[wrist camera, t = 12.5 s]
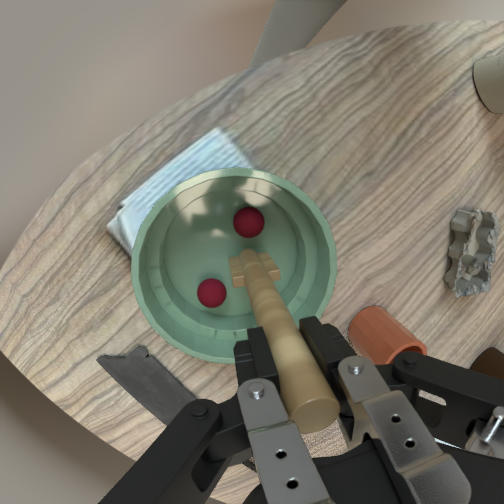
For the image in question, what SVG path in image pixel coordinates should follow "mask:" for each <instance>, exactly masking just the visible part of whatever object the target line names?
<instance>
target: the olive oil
mask: <svg viewBox="0 0 504 504" xmlns="http://www.w3.org/2000/svg"><path fill="white" fill-rule="evenodd" d="M470 370H472V371H475V372H479V373H482V374H485V375H488V376H492V377H495V378H498V379H501V380H504V354H503V353H502V352H501V351H499V350H498V349H496V348H494V347H491V348H489V349H487V350H486V351H484V352H483V353H482V354H481V355H480V356H479V357H478V358H477V359H476V361H475V362H474V363H473V365H472V366H471V368H470Z"/></svg>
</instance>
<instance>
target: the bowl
mask: <svg viewBox="0 0 504 504" xmlns="http://www.w3.org/2000/svg"><path fill="white" fill-rule="evenodd" d="M244 207H254V208H256V209H258V210H259V211H260V212H261V213H262V214H263V216H264V220H265V225H264V228H263V230H262V232H261V233H260V234H259V235H258V236H256V237H254V238H244V237H242V236H240V235H239V234H238V233H237V232H236V231H235V229H234V226H233V218H234V216H235V214H236V213H237V211H238V210H240V209H241V208H244ZM244 249H253V250H255V251H256V252H257V253H260V252H266V251H267V252H268V254H269V255H270V256H271V258H272V259H273V261H274V262H275V264H276V265H277V267H278V268H279V270H280V276H281V280H278V281H273V283H274V284H275V286H276V288H277V290H278V292H279V294H280V295H281V297H282V299H283V301H284V303H285V305H286V306H287V308H288V310H289V312H290V314H291V316H292V317H293V319H294V321H295V323H296V325H297V327H298V328H299V319H301V318H306V317H311V316H316V317H317V318H318V320H319V319H320V318H321V316H322V314H323V312H324V310H325V308H326V306H327V305H328V303H329V301H330V299H331V296H332V293H333V288H334V284H335V280H336V275H337V254H336V245H335V242H334V239H333V235H332V232H331V229H330V226H329V224H328V221H327V220H326V218H325V217H324V215H323V214H322V212H321V211H320V209H319V208H318V206H317V205H316V203H315V202H314V201H313V200H312V199H311V198H310V197H309V196H307V195H306V194H305V193H304V192H303V191H302V190H300V189H299V188H298V187H297V186H296V185H294V184H293V183H291V182H289V181H287V180H285V179H283V178H280V177H278V176H276V175H274V174H271V173H269V172H267V171H262V170H255V169H248V168H240V167H232V168H225V169H218V170H211V171H206V172H203V173H201V174H199V175H196V176H194V177H192V178H190V179H188V180H185V181H183V182H181V183H179V184H177V185H176V186H175V187H174V188H173V189H171V190H170V191H169V192H168V193H167V194H165V195H164V196H163V197H162V198H161V199H160V200H158V201H157V202H156V203H155V205H154V206H153V208H152V209H151V211H150V212H149V214H148V215H147V217H146V218H145V220H144V221H143V223H142V224H141V226H140V228H139V231H138V234H137V237H136V241H135V244H134V247H133V250H132V263H131V279H132V280H131V281H132V285H133V288H134V292H135V296H136V299H137V303H138V305H139V307H140V309H141V310H142V312H143V314H144V315H145V317H146V319H147V320H148V322H149V324H150V325H151V327H152V328H153V329H154V330H155V331H156V332H157V333H158V334H159V335H160V336H161V337H162V338H163V339H165V340H166V341H167V342H168V343H169V344H170V345H172V346H174V347H176V348H177V349H179V350H181V351H182V352H184V353H186V354H188V355H190V356H192V357H196V358H199V359H202V360H206V361H209V362H214V363H225V364H235V359H234V352H233V348H234V346H235V344H236V342H237V341H243V340H248V336H247V330H246V329H249V328H254V327H258V326H257V323H256V320H255V316H254V313H253V310H252V307H251V303H250V300H249V297H248V293H247V290H246V287H245V286H243V287H237V288H234V287H233V283H232V278H231V273H230V267H229V262H228V258H229V257H235V256H238V255H239V254H240V252H241V251H242V250H244ZM209 278H214V279H218V280H220V281H221V282H222V283H223V284H224V285H225V287H226V291H227V296H226V299H225V301H224V302H223V304H221V305H220V306H218V307H216V308H208V307H205V306H204V305H202V304H201V303H200V301H199V300H198V297H197V289H198V286H199V285H200V283H201V282H202V281H204V280H206V279H209Z"/></svg>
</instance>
